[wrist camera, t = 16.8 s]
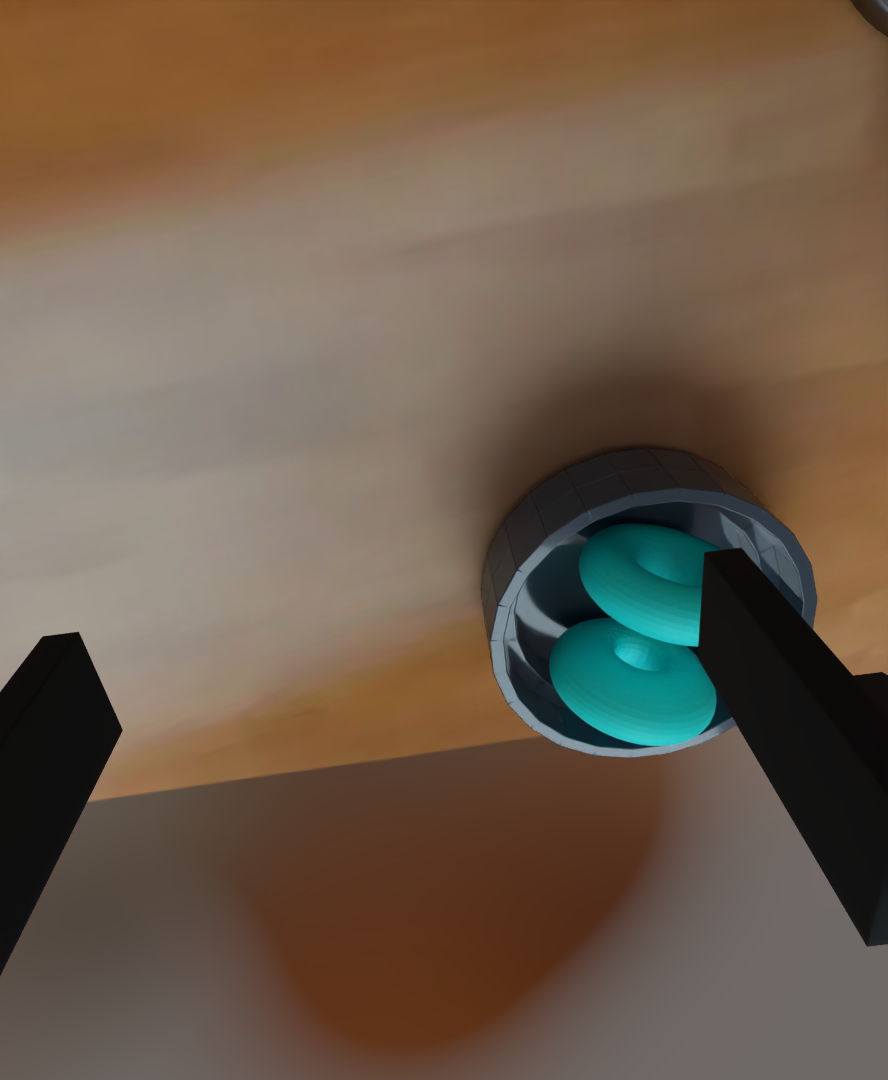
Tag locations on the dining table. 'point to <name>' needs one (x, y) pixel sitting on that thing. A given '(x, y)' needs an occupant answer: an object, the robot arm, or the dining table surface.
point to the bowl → (559, 594)
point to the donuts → (638, 638)
